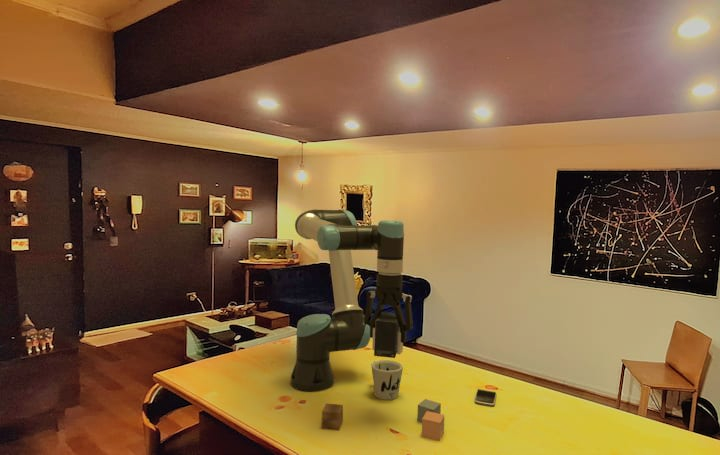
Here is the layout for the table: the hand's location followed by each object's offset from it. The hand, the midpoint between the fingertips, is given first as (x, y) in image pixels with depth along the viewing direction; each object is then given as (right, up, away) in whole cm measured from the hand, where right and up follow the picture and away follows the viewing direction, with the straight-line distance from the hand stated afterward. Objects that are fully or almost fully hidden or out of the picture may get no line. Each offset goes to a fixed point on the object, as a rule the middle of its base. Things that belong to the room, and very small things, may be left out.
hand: (387, 350), depth 126 cm
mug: (0, -19, +18) cm, 27 cm away
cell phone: (+33, -21, +15) cm, 42 cm away
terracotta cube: (+12, -21, -8) cm, 25 cm away
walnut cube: (-16, -20, -4) cm, 26 cm away
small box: (0, -1, 0) cm, 1 cm away
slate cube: (+12, -20, 0) cm, 24 cm away
